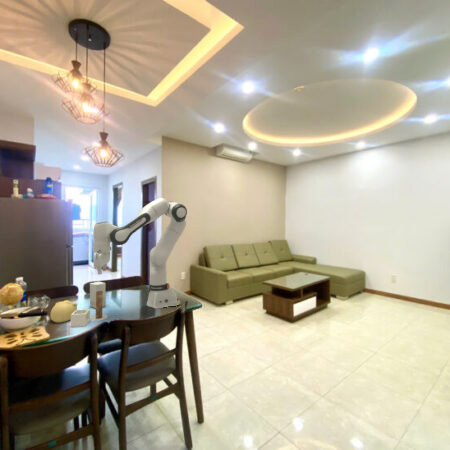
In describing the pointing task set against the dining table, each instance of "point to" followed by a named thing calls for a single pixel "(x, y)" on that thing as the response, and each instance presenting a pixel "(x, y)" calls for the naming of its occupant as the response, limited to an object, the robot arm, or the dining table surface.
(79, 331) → the dining table surface
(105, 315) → the coaster
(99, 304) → the dowel
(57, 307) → the pale yellow rounded lump
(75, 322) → the pen cup
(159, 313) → the dining table surface
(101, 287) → the skincare box
